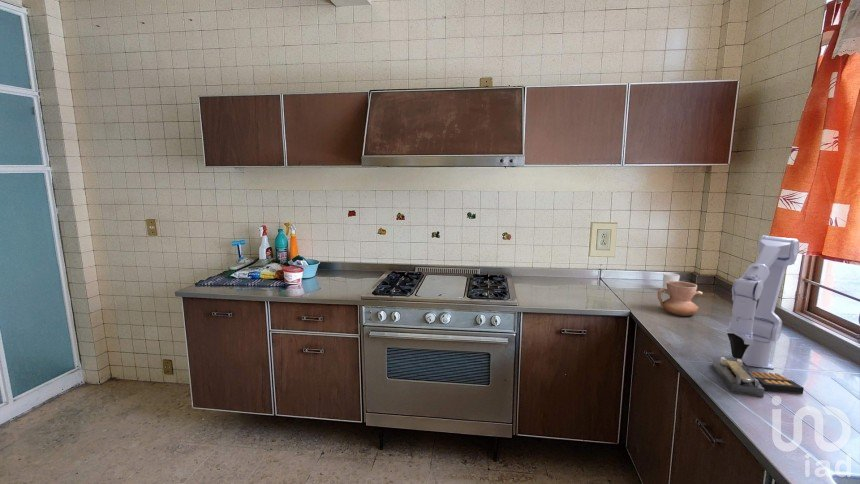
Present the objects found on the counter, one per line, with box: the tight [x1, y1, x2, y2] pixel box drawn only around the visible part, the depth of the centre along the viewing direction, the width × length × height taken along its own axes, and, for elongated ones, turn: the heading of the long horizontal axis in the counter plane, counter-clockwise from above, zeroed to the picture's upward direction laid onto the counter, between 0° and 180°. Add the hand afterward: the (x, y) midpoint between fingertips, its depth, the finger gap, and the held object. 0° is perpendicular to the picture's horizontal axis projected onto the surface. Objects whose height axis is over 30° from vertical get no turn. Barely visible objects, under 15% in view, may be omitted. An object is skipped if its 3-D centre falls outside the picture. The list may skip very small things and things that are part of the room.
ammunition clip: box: [750, 370, 805, 395], centre depth 133 cm, size 11×2×12 cm
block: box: [711, 357, 766, 398], centre depth 134 cm, size 19×8×4 cm, turn 161°
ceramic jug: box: [657, 280, 703, 317], centre depth 197 cm, size 18×14×14 cm
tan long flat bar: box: [726, 359, 753, 384], centre depth 133 cm, size 15×3×1 cm, turn 162°
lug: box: [719, 356, 744, 367], centre depth 139 cm, size 2×6×2 cm, turn 72°
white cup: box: [662, 272, 681, 289], centre depth 232 cm, size 8×8×10 cm
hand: (736, 357), depth 135 cm, fingers closed
